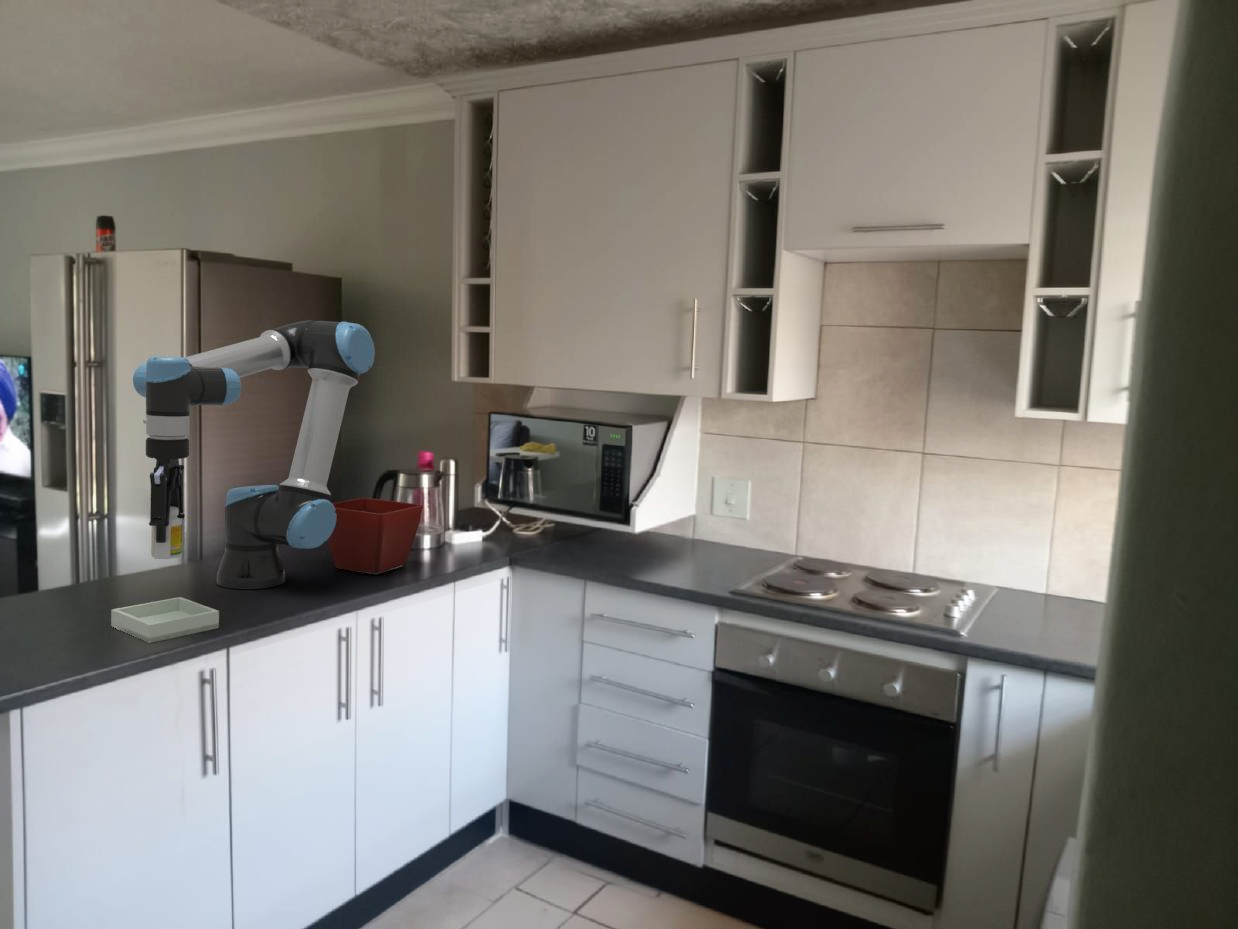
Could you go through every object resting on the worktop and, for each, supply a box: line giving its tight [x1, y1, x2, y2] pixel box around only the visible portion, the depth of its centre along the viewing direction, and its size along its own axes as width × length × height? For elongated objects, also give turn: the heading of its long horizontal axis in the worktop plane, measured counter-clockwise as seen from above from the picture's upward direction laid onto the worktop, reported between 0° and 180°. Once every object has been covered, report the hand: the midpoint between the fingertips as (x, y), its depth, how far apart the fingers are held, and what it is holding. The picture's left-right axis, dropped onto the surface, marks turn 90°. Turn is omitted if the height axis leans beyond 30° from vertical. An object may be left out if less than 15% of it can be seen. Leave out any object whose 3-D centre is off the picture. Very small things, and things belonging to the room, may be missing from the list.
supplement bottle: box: [150, 507, 183, 560], centre depth 179 cm, size 5×5×10 cm
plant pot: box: [326, 497, 423, 573], centre depth 238 cm, size 19×19×17 cm
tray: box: [110, 596, 220, 644], centre depth 181 cm, size 14×14×4 cm
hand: (167, 554), depth 180 cm, fingers closed on supplement bottle, 5 cm apart
